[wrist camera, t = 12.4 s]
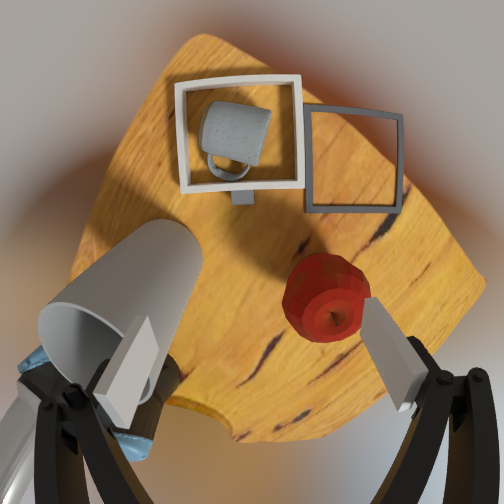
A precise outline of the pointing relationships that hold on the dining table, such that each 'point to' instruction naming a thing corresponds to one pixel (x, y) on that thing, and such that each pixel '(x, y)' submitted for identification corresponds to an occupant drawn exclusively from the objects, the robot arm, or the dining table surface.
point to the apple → (325, 298)
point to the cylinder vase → (122, 301)
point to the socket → (245, 189)
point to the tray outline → (309, 160)
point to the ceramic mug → (233, 135)
